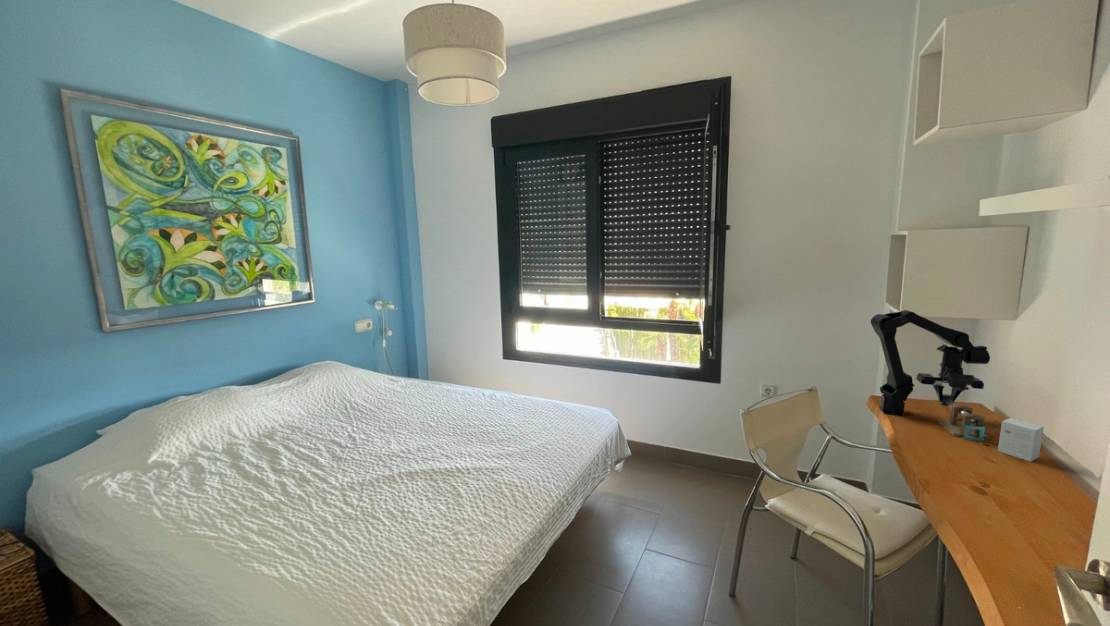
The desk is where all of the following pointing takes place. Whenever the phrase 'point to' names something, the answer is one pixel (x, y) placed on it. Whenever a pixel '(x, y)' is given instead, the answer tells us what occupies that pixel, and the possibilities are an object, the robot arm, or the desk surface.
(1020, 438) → the small box
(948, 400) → the steel shaft
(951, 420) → the bearing stand
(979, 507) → the desk surface
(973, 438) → the teal spacer
